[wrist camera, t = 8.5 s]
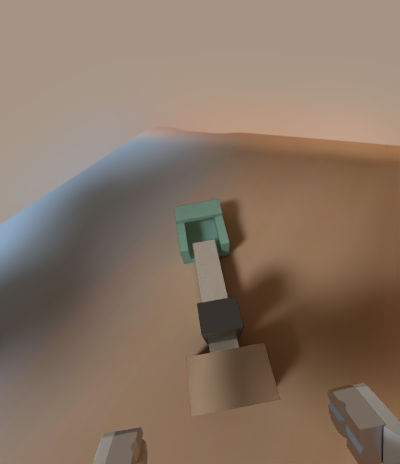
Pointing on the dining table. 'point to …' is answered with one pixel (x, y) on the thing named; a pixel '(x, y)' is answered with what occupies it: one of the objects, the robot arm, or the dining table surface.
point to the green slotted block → (200, 227)
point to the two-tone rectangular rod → (215, 301)
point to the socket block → (230, 379)
